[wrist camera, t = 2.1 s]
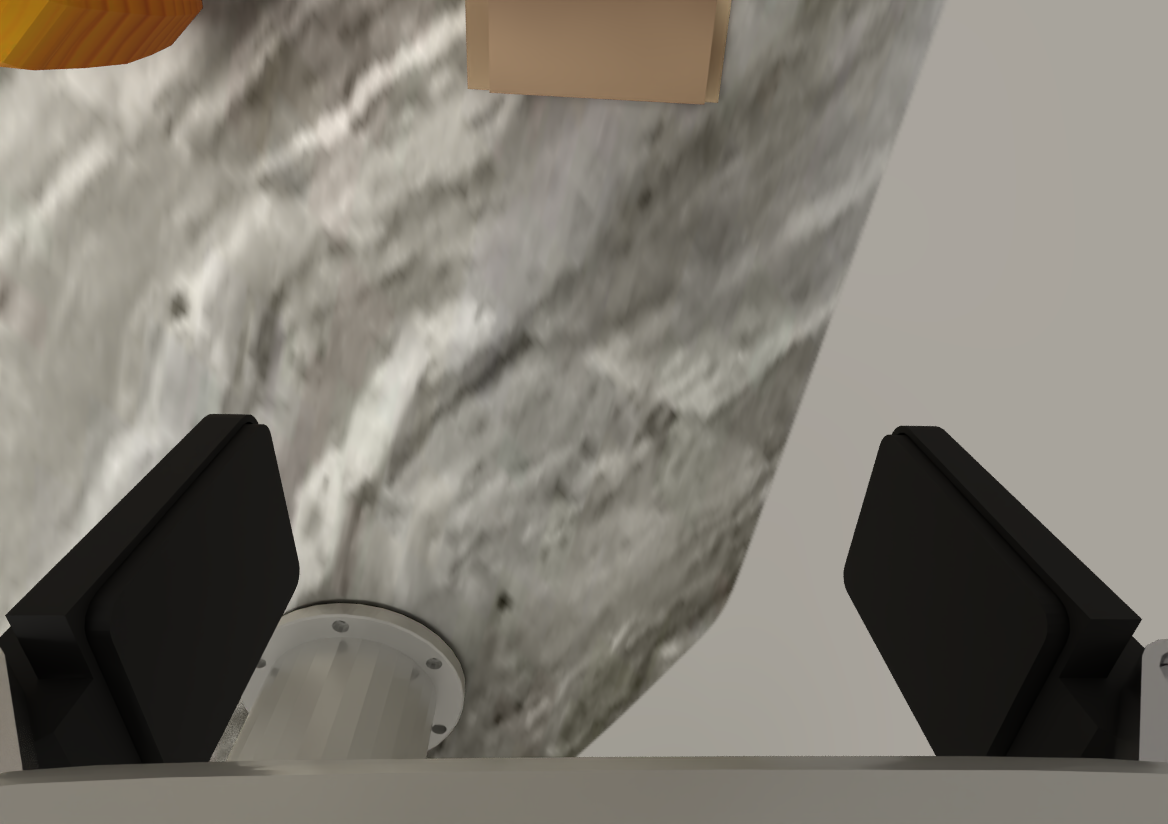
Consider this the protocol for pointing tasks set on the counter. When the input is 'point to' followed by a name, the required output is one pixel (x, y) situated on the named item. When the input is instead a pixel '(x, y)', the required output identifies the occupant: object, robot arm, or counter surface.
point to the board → (480, 46)
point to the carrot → (88, 31)
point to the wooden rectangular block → (602, 48)
